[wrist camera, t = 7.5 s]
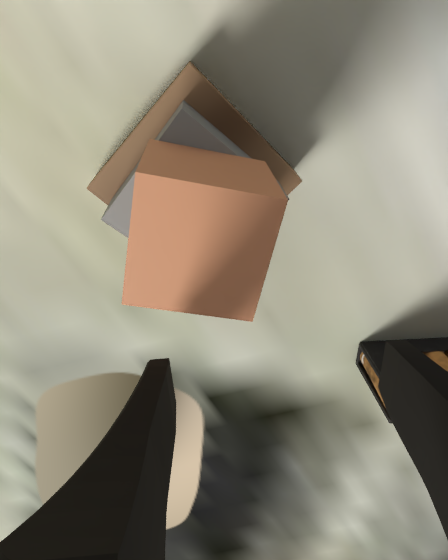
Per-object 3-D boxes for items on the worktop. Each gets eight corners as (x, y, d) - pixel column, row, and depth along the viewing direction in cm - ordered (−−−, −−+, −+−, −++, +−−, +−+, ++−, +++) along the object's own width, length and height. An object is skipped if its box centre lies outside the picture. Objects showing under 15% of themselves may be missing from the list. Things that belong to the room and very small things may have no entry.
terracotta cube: (265, 161, 16) (287, 199, 12) (239, 262, 18) (252, 321, 15) (149, 138, 16) (134, 171, 12) (137, 245, 18) (121, 304, 14)
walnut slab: (291, 166, 21) (302, 180, 19) (200, 256, 24) (200, 278, 22) (190, 60, 19) (189, 63, 17) (97, 172, 21) (86, 188, 19)
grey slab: (278, 181, 19) (289, 199, 17) (204, 264, 21) (205, 289, 19) (183, 99, 17) (181, 108, 15) (111, 199, 19) (100, 219, 17)
